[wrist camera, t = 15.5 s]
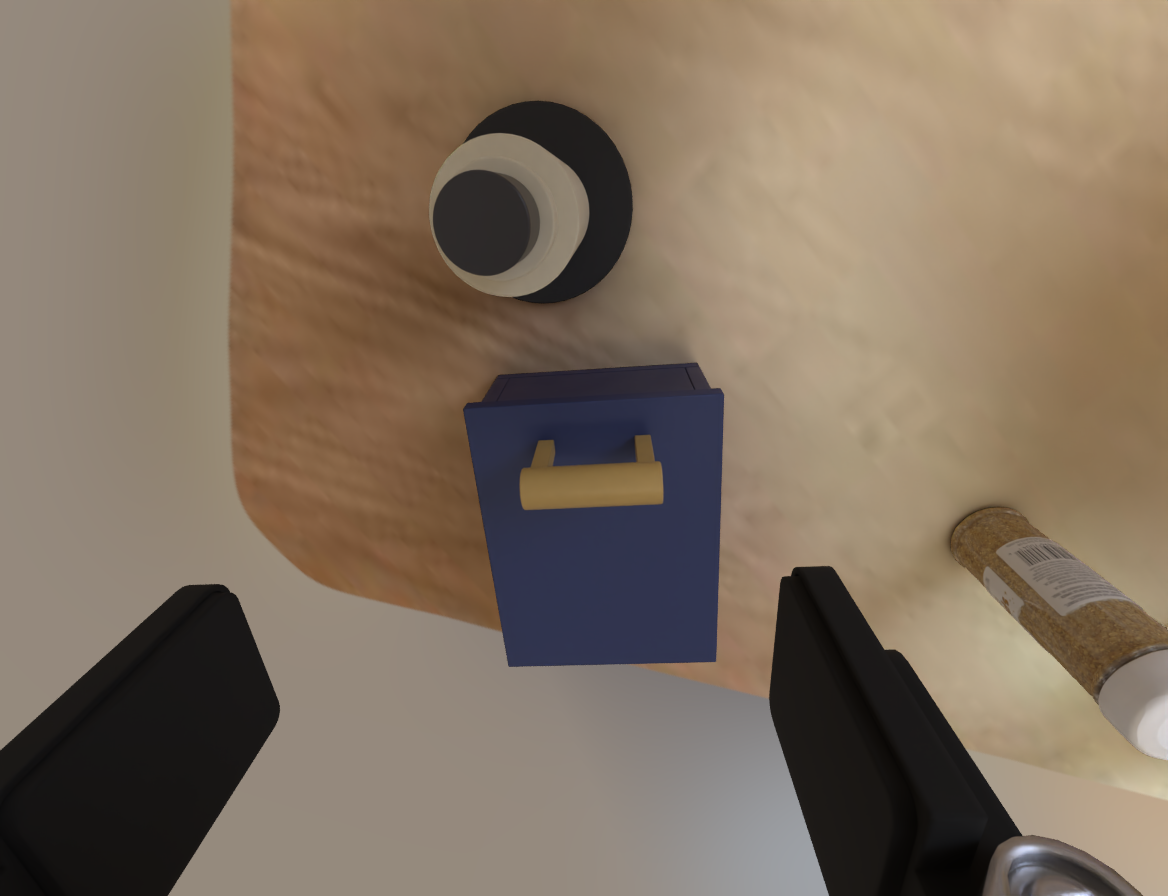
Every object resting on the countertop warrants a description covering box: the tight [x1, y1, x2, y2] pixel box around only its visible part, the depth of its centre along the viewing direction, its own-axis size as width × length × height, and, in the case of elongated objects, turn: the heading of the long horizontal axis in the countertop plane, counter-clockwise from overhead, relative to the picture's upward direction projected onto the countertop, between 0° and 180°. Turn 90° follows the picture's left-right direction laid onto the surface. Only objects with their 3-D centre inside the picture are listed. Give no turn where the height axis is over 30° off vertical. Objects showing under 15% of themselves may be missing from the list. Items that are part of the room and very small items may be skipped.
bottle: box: [429, 133, 589, 297], centre depth 21 cm, size 5×5×13 cm
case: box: [482, 363, 711, 402], centre depth 30 cm, size 14×11×7 cm
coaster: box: [463, 101, 633, 303], centre depth 27 cm, size 9×9×1 cm
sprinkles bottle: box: [951, 507, 1168, 760], centre depth 28 cm, size 5×5×13 cm
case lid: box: [463, 388, 724, 667], centre depth 25 cm, size 15×11×5 cm
